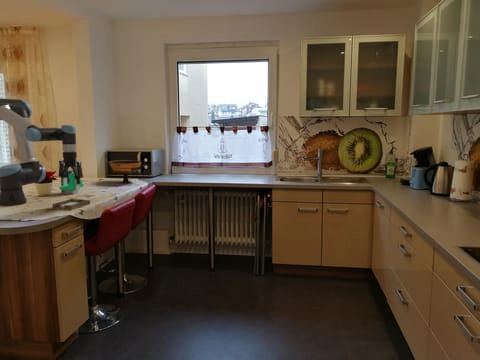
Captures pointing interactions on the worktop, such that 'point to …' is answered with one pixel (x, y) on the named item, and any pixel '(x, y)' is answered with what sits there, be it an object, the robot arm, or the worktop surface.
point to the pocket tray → (71, 204)
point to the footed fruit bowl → (125, 168)
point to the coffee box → (67, 184)
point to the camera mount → (71, 183)
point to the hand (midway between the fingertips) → (71, 189)
